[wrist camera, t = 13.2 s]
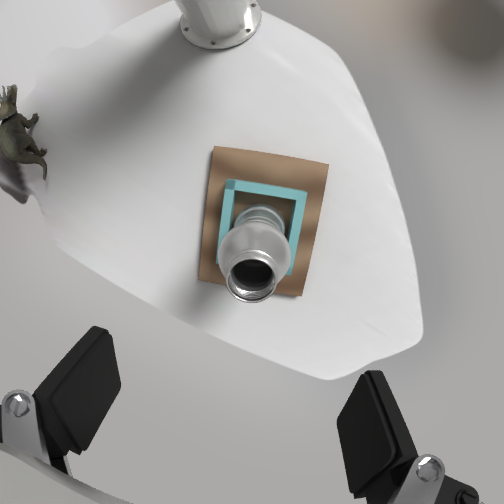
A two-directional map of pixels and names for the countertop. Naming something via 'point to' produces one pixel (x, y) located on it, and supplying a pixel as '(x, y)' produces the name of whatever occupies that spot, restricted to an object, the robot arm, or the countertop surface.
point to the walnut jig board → (264, 192)
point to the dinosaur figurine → (18, 132)
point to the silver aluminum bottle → (255, 253)
